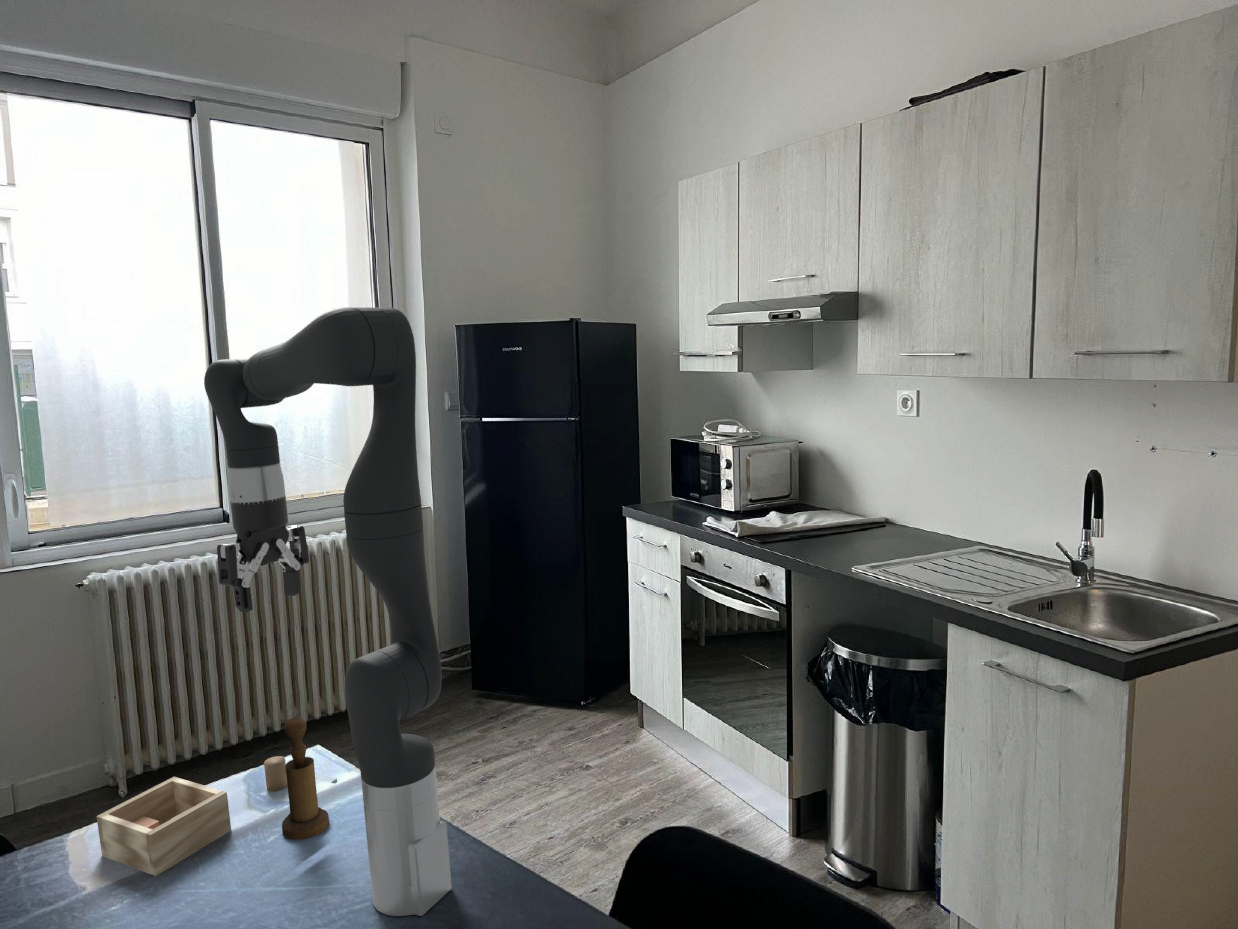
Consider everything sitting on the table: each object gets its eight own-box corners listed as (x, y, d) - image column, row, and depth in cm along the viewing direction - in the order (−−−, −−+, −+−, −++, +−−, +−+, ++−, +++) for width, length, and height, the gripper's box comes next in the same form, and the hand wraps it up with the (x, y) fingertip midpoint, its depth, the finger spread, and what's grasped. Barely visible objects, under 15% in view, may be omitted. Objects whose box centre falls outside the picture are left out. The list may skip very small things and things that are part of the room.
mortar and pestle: (337, 821, 129) (326, 709, 127) (318, 846, 123) (306, 728, 120) (295, 821, 130) (283, 709, 128) (274, 846, 124) (261, 728, 121)
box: (232, 836, 127) (226, 792, 126) (156, 882, 116) (150, 835, 115) (179, 819, 132) (173, 776, 131) (103, 862, 122) (96, 816, 121)
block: (162, 843, 124) (159, 821, 123) (139, 857, 121) (136, 834, 120) (146, 838, 125) (143, 816, 125) (123, 851, 122) (120, 828, 122)
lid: (337, 784, 142) (334, 750, 141) (274, 824, 130) (270, 788, 130) (281, 769, 148) (278, 737, 147) (216, 807, 136) (212, 772, 135)
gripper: (234, 505, 117) (247, 620, 119) (313, 488, 129) (324, 591, 132) (197, 503, 120) (211, 614, 122) (278, 486, 133) (289, 587, 135)
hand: (269, 602), depth 127 cm, fingers open, 8 cm apart
